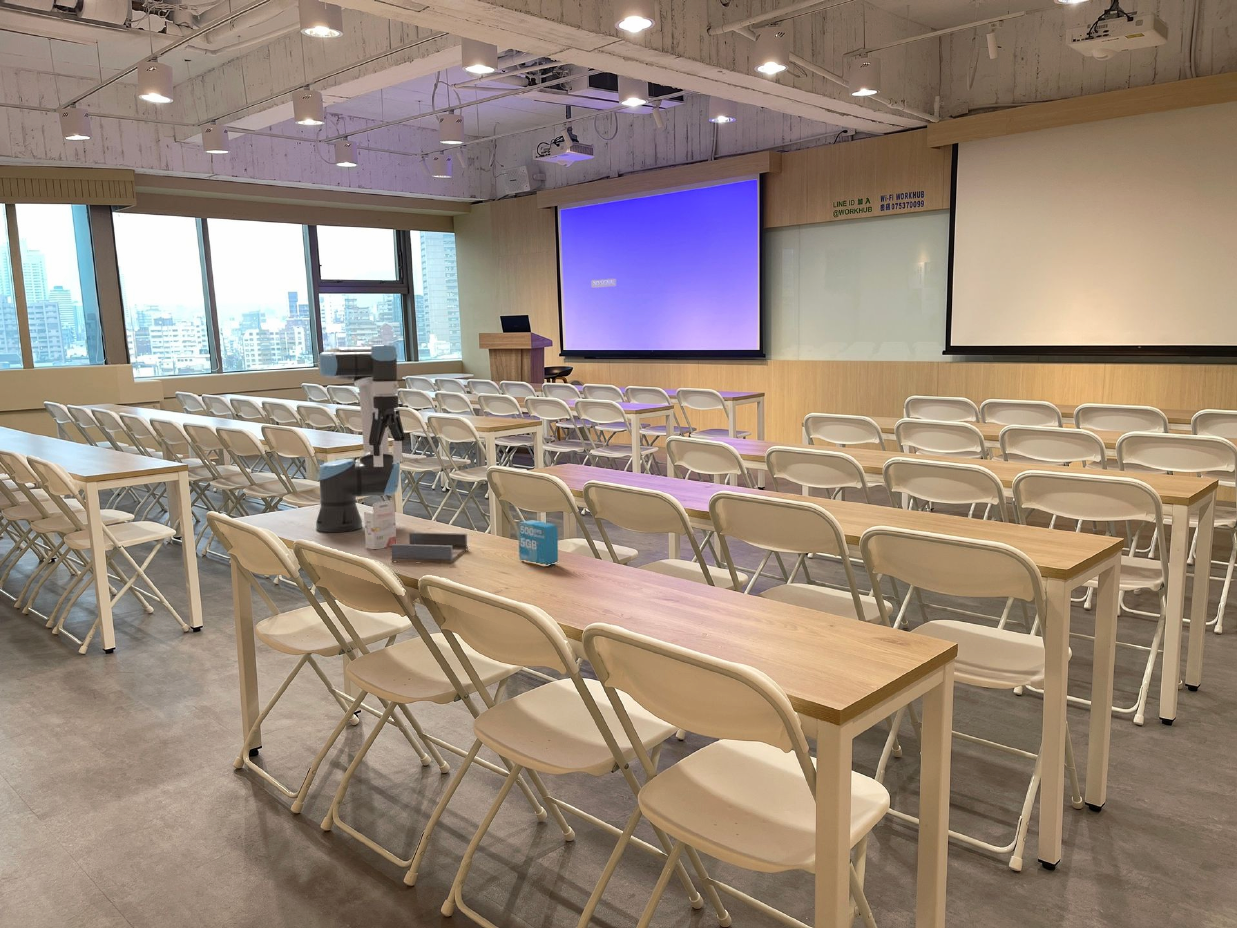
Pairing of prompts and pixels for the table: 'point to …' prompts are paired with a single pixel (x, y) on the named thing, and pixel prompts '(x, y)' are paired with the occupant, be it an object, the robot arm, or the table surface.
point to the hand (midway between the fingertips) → (388, 464)
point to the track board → (430, 548)
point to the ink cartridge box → (380, 525)
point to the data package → (538, 542)
